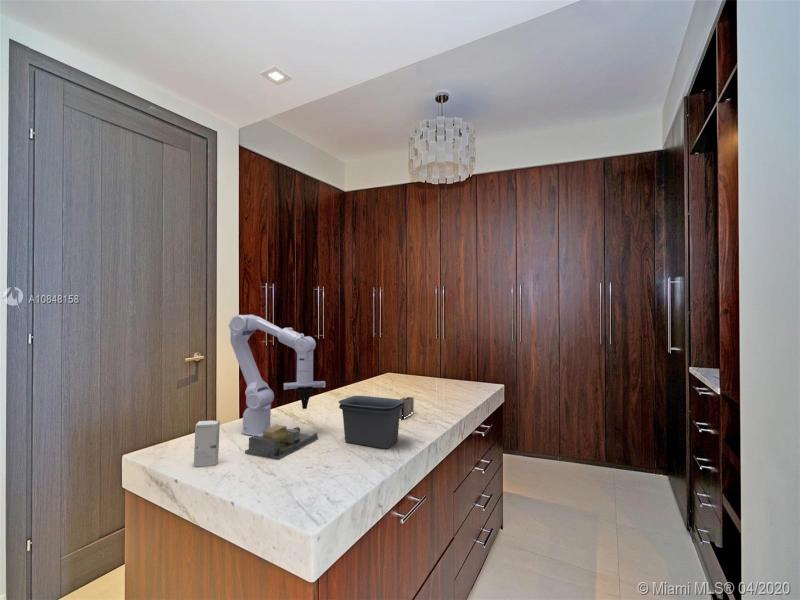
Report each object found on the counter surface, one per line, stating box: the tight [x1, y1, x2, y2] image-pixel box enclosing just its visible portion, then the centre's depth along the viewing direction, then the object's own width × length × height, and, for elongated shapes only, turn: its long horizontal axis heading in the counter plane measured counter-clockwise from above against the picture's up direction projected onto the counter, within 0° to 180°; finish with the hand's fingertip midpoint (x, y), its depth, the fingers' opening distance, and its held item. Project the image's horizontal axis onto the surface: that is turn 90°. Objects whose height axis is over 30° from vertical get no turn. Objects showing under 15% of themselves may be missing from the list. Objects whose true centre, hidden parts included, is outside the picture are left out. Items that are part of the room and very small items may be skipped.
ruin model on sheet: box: [399, 396, 415, 420], centre depth 171 cm, size 11×3×10 cm, turn 152°
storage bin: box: [337, 395, 404, 449], centre depth 139 cm, size 21×16×14 cm
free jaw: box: [286, 426, 301, 444], centre depth 137 cm, size 10×8×4 cm
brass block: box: [262, 424, 287, 447], centre depth 130 cm, size 4×7×6 cm, turn 157°
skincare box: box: [193, 419, 221, 467], centre depth 119 cm, size 6×4×12 cm
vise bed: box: [244, 432, 319, 461], centre depth 134 cm, size 13×21×5 cm, turn 157°
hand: (304, 408), depth 145 cm, fingers closed
